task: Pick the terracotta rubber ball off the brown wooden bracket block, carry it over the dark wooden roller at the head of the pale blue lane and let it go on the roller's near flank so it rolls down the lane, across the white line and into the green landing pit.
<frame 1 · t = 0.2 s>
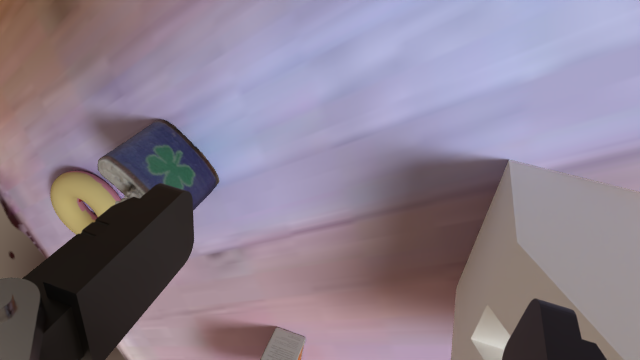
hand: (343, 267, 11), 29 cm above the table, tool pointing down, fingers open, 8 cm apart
donut: (99, 200, 57), on the table
flask: (189, 152, 48), on the table
white slotted block: (588, 258, 41), on the table
skincare box: (289, 344, 60), on the table
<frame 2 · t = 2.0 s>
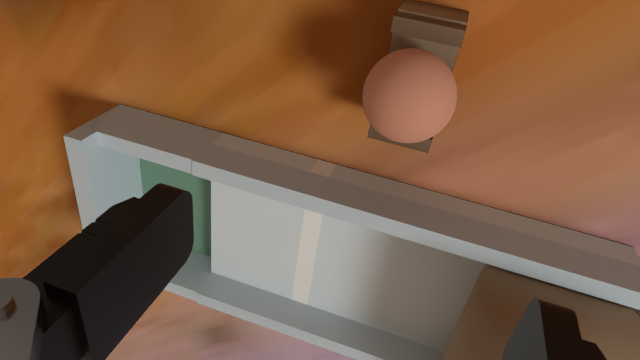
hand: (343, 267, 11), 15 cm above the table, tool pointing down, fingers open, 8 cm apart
pit mat: (182, 194, 33), resting in lane
brown wooden bracket block: (421, 66, 23), on the table
ball: (408, 96, 20), point 4 cm above the table, touching brown wooden bracket block
lane: (343, 244, 31), on the table
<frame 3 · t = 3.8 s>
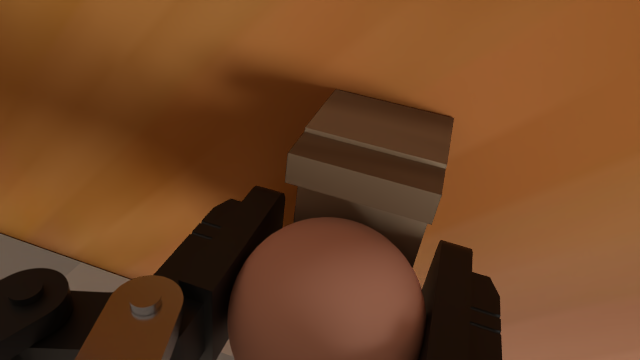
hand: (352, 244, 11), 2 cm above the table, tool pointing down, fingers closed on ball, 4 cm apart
brown wooden bracket block: (370, 200, 13), on the table
ball: (326, 314, 9), point 4 cm above the table, touching gripper, brown wooden bracket block
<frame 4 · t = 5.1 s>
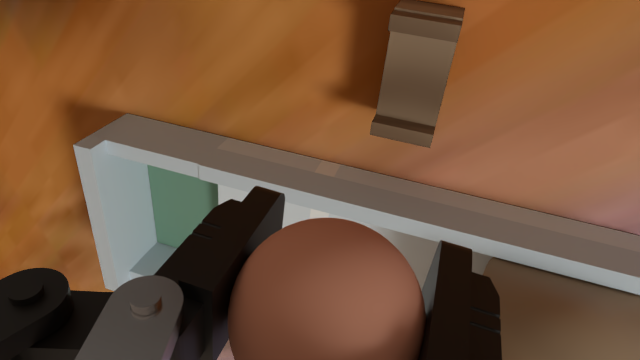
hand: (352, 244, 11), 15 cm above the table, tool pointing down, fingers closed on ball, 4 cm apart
pit mat: (190, 200, 33), resting in lane
brown wooden bracket block: (420, 63, 24), on the table
ball: (326, 314, 9), point 17 cm above the table, touching gripper
lane: (350, 244, 31), on the table
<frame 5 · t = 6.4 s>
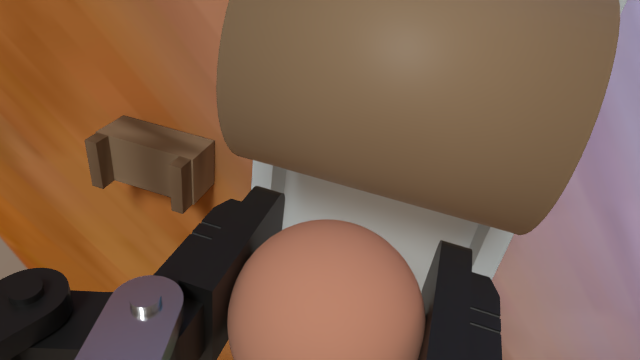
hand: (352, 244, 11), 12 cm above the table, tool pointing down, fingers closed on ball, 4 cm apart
brown wooden bracket block: (169, 149, 28), on the table
ball: (326, 316, 9), point 14 cm above the table, touching gripper
lane: (370, 236, 26), on the table
when the fingers open (11 cm above the table, at t = 6.8 s): ball drops 11 cm, resting on pit mat.
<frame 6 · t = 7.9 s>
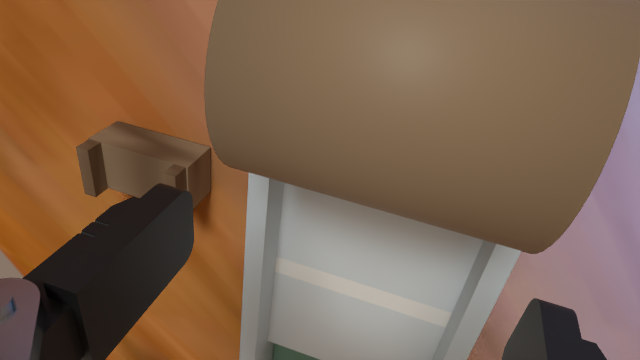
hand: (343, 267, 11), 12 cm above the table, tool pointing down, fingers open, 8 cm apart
brown wooden bracket block: (164, 156, 27), on the table
lane: (371, 246, 25), on the table
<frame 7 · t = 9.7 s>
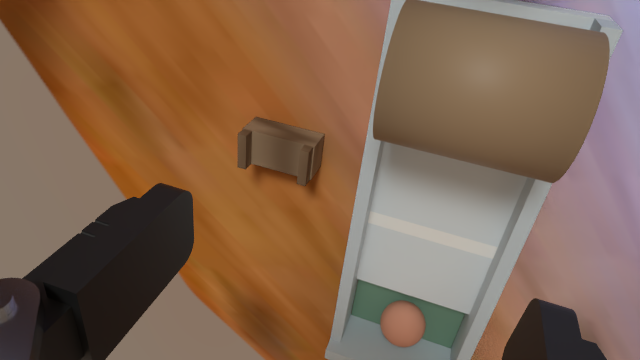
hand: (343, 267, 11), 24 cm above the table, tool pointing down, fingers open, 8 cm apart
pit mat: (406, 307, 43), resting in lane
brown wooden bracket block: (288, 141, 38), on the table
ball: (402, 323, 41), point 2 cm above the table, tilted 44°, touching pit mat
lane: (438, 203, 36), on the table
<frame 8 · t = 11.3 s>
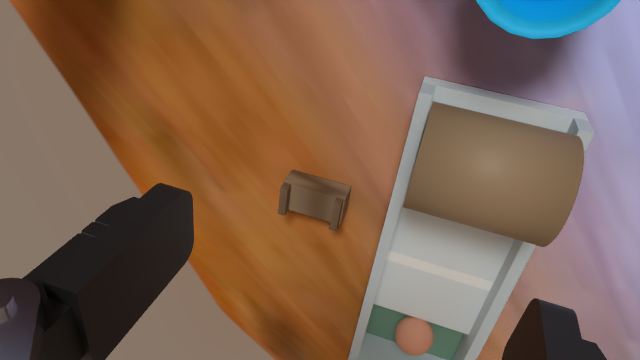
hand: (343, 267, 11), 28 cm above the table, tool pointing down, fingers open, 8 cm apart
pit mat: (414, 327, 50), resting in lane
brown wooden bracket block: (319, 190, 45), on the table
ball: (414, 335, 48), point 2 cm above the table, tilted 73°, touching pit mat
lane: (445, 244, 43), on the table
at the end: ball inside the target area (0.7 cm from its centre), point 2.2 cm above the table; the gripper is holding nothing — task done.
